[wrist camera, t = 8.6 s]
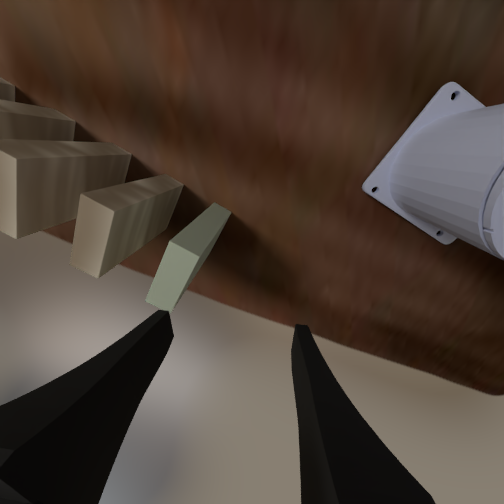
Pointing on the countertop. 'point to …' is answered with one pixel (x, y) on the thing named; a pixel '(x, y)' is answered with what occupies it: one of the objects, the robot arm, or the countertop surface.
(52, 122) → the domino
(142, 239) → the domino
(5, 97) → the domino
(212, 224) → the domino
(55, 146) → the domino
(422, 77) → the countertop surface
